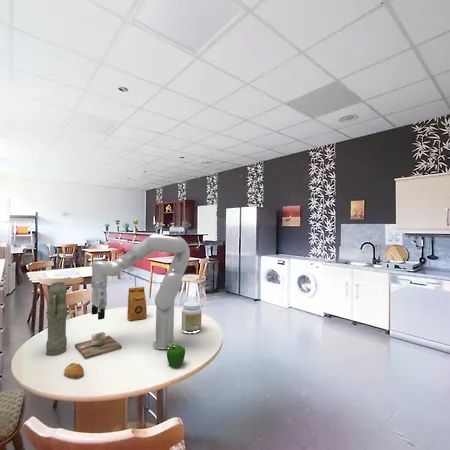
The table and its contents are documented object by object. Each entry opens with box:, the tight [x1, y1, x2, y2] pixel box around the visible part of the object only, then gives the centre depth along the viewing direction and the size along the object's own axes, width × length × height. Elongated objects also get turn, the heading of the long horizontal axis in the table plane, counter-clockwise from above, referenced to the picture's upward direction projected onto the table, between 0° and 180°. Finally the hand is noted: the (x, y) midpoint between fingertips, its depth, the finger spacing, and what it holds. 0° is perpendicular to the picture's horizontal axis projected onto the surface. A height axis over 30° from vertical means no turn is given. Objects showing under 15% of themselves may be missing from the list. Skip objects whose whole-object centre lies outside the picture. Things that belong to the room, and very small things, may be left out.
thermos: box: [45, 282, 68, 357], centre depth 142 cm, size 9×12×35 cm
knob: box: [81, 331, 106, 348], centre depth 146 cm, size 12×6×6 cm, turn 133°
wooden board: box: [74, 335, 123, 360], centre depth 148 cm, size 18×18×2 cm
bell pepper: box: [166, 343, 186, 368], centre depth 132 cm, size 8×8×10 cm
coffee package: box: [126, 286, 148, 321], centre depth 194 cm, size 10×12×22 cm
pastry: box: [63, 362, 85, 380], centre depth 121 cm, size 9×7×4 cm
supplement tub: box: [181, 301, 202, 332], centre depth 174 cm, size 12×12×17 cm
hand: (97, 316), depth 148 cm, fingers open, 9 cm apart
